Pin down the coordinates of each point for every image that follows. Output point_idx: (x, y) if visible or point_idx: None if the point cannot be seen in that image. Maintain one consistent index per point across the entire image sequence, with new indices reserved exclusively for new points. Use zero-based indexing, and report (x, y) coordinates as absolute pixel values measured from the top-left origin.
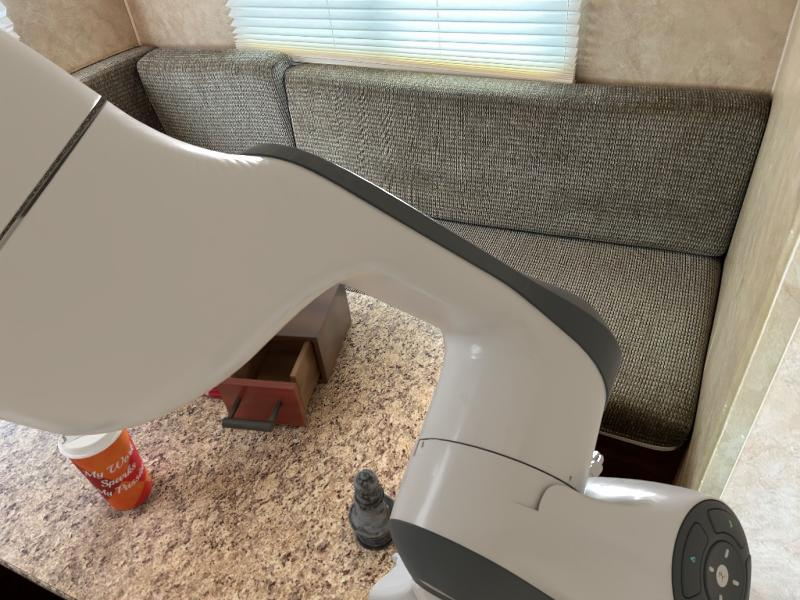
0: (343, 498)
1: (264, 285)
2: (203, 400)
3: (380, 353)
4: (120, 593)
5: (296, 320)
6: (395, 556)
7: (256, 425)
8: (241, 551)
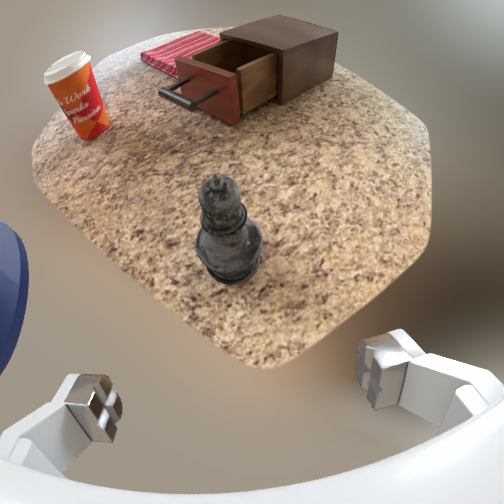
0: None
1: None
2: None
3: (343, 106)
4: (44, 194)
5: (275, 37)
6: (60, 388)
7: (180, 99)
8: (113, 206)
